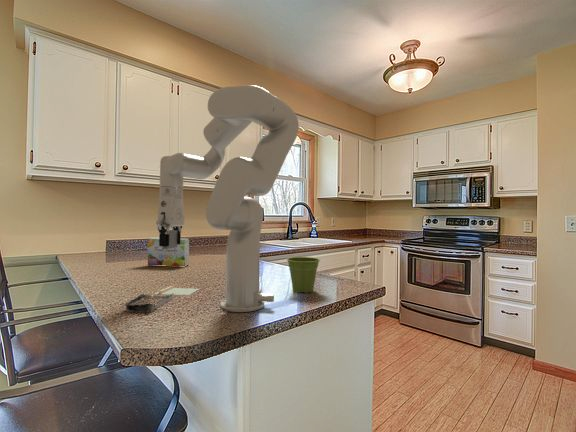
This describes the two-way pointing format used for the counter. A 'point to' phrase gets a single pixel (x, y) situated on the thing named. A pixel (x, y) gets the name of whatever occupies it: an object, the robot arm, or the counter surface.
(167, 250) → the snack box
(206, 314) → the counter surface
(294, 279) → the plant pot
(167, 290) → the mat
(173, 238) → the slate plaque
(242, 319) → the counter surface
